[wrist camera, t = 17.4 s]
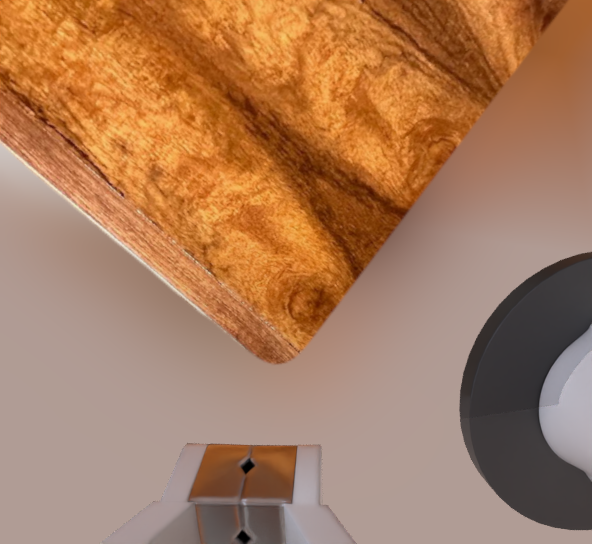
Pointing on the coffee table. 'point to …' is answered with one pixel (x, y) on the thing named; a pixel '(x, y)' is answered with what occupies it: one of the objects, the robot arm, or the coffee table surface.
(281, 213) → the coffee table surface
